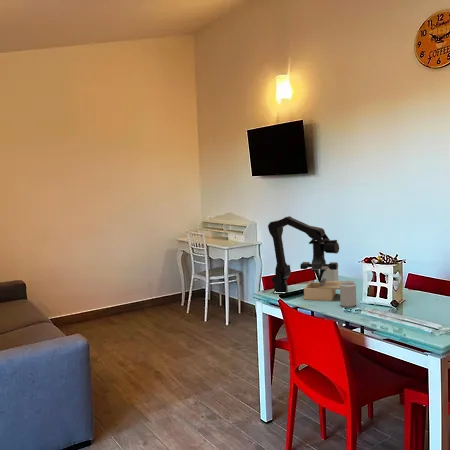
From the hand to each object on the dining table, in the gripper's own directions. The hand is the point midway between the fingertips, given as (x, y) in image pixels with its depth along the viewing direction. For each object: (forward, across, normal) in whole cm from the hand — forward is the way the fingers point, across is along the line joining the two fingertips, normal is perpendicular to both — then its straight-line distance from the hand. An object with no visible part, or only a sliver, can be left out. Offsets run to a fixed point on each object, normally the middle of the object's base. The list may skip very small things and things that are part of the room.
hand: (319, 282), depth 249 cm
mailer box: (+8, 0, 0) cm, 8 cm away
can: (+8, +16, -14) cm, 23 cm away
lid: (+2, +8, 0) cm, 8 cm away
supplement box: (+8, +2, +21) cm, 23 cm away
